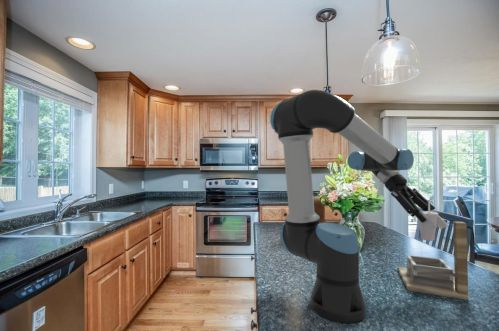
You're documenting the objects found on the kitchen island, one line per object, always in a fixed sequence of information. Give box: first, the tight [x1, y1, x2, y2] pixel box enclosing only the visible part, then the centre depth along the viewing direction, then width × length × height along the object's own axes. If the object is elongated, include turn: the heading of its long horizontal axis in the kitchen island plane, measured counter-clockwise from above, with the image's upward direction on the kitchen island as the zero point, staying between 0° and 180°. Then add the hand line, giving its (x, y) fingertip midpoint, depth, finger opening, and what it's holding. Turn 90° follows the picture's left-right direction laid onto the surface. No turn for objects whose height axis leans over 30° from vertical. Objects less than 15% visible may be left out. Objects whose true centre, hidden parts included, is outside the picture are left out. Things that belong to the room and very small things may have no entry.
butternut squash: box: [313, 195, 327, 223], centre depth 145 cm, size 14×13×25 cm
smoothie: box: [417, 199, 439, 242], centre depth 87 cm, size 6×6×14 cm
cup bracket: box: [397, 220, 469, 301], centre depth 86 cm, size 18×16×24 cm
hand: (439, 228), depth 84 cm, fingers closed on smoothie, 6 cm apart
